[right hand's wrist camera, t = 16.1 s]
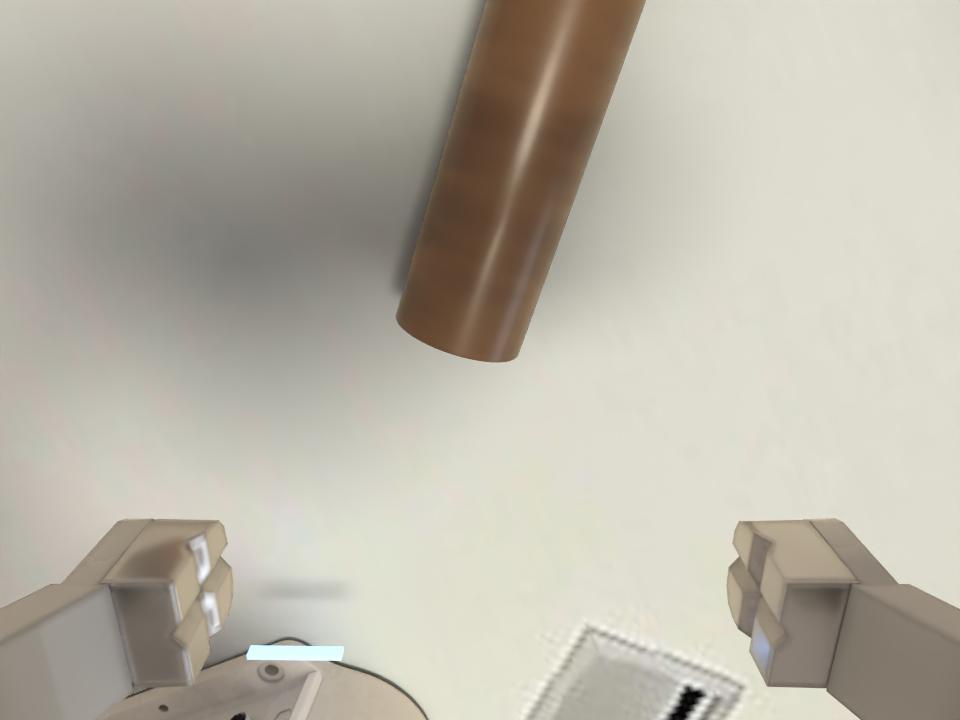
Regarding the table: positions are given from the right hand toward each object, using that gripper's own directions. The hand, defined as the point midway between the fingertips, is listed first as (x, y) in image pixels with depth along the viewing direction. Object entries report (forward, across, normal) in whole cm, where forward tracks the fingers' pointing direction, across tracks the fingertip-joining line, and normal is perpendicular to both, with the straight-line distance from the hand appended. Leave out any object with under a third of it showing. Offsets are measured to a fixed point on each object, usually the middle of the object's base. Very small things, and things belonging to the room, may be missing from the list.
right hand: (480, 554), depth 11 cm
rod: (+24, -2, -7) cm, 25 cm away
